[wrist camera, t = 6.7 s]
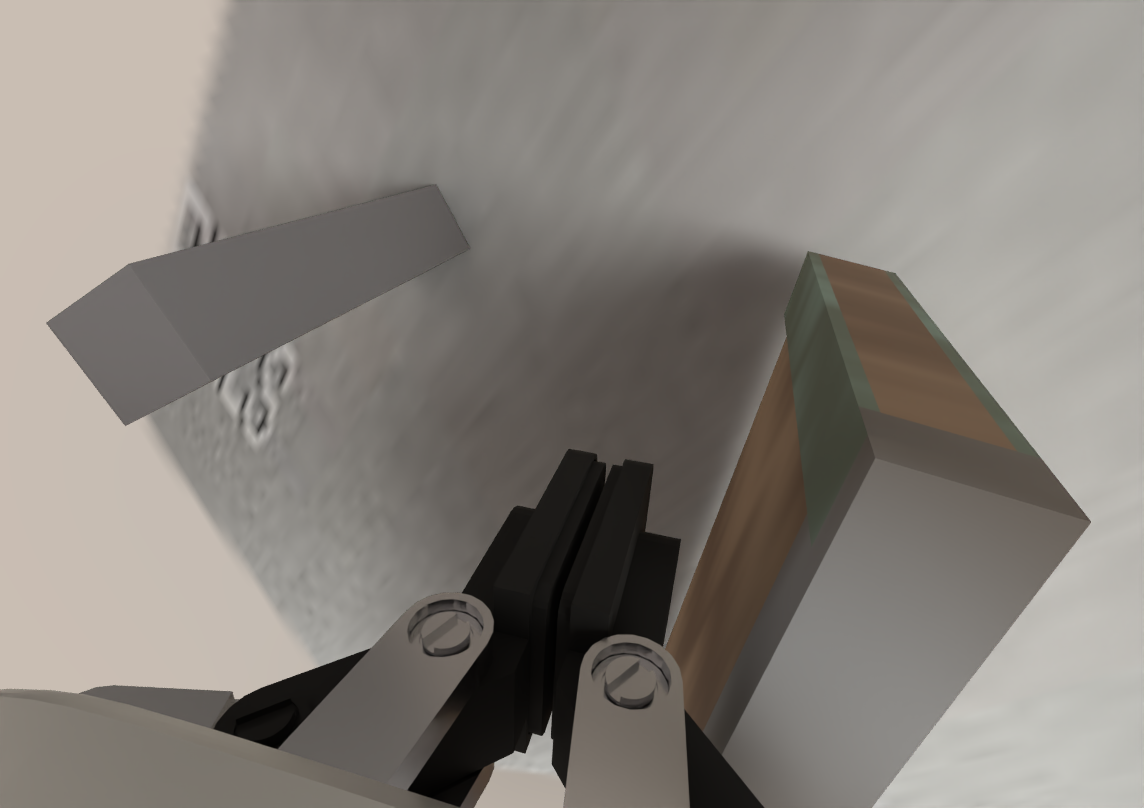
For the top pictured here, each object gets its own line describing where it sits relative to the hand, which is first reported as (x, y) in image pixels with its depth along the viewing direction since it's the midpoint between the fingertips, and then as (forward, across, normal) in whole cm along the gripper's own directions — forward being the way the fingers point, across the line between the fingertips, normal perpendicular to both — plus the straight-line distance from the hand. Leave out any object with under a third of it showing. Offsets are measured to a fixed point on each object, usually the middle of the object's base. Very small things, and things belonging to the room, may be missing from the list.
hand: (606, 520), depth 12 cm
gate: (+6, -3, +3) cm, 7 cm away
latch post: (+7, +8, -3) cm, 11 cm away
